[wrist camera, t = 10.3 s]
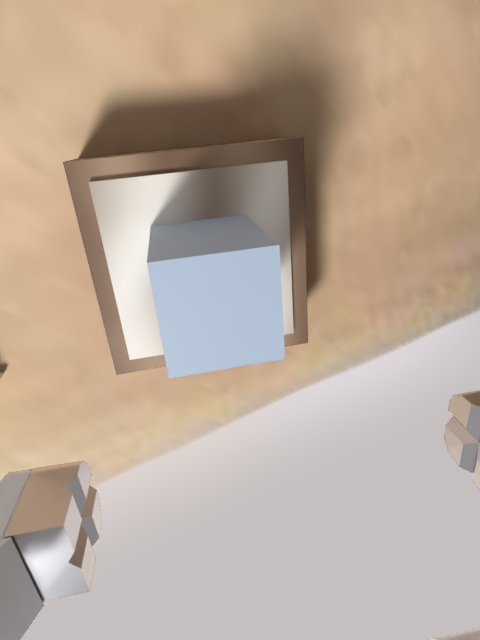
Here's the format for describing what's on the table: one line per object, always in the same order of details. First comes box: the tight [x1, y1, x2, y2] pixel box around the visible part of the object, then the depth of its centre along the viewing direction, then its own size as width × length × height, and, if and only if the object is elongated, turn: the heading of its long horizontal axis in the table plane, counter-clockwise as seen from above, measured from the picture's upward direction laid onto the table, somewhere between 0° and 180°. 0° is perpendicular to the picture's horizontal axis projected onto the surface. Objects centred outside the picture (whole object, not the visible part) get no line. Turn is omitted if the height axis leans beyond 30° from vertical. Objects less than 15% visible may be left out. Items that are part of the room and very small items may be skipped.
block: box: [147, 214, 285, 378], centre depth 19 cm, size 5×5×7 cm
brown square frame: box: [63, 138, 308, 375], centre depth 25 cm, size 12×12×4 cm
